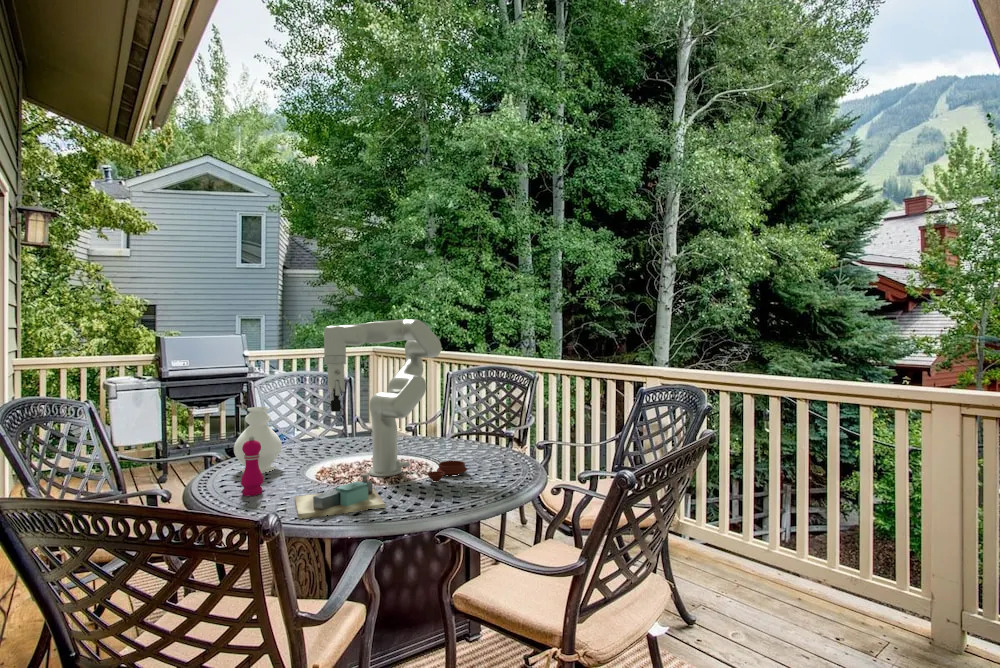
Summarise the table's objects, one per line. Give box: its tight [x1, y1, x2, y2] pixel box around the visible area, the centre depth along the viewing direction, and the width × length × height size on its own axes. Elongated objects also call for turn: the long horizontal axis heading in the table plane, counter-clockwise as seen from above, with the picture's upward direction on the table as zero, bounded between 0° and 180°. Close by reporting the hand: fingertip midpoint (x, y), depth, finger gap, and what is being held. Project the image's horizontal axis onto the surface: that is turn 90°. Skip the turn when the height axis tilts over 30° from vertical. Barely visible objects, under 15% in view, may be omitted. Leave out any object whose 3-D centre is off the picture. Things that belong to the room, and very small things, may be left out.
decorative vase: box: [233, 406, 283, 474], centre depth 238 cm, size 18×18×25 cm
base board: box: [294, 473, 386, 520], centre depth 192 cm, size 26×20×8 cm
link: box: [313, 480, 374, 510], centre depth 191 cm, size 22×5×4 cm, turn 148°
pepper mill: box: [240, 436, 264, 497], centre depth 205 cm, size 7×7×20 cm
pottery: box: [427, 460, 468, 481], centre depth 226 cm, size 12×20×4 cm, turn 152°
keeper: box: [335, 480, 368, 506], centre depth 190 cm, size 9×5×5 cm, turn 147°
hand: (335, 411), depth 213 cm, fingers closed
